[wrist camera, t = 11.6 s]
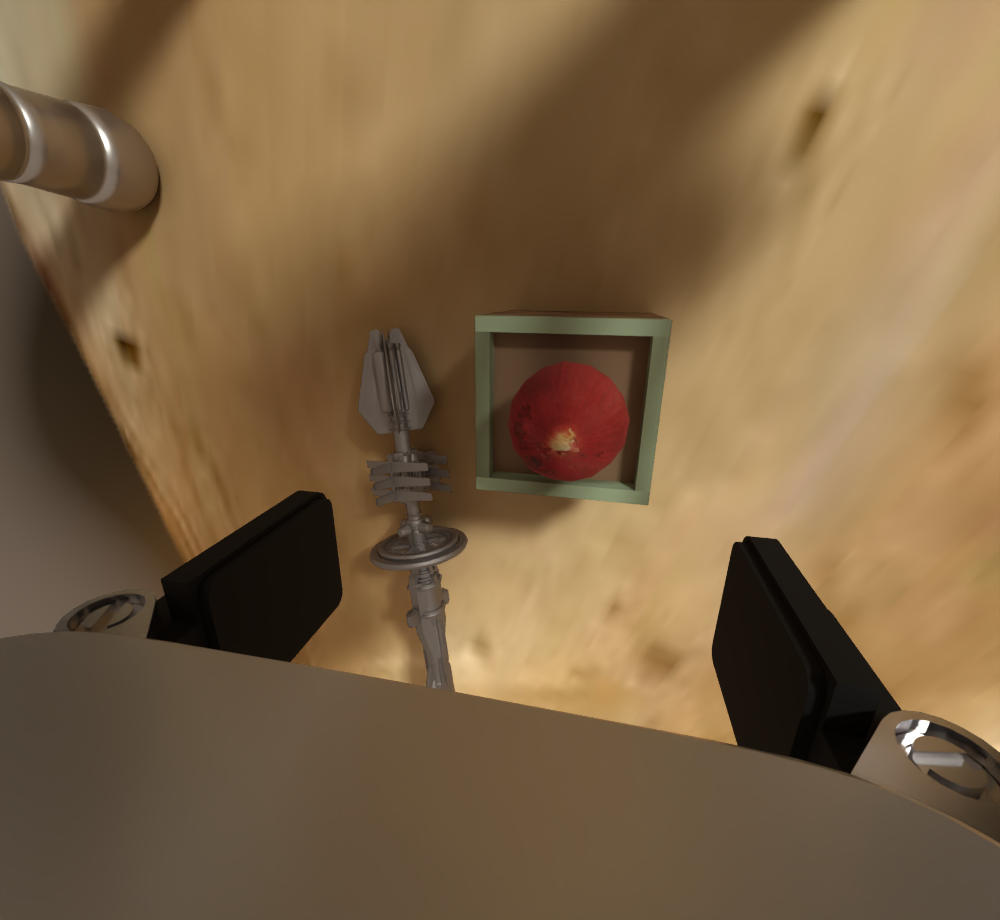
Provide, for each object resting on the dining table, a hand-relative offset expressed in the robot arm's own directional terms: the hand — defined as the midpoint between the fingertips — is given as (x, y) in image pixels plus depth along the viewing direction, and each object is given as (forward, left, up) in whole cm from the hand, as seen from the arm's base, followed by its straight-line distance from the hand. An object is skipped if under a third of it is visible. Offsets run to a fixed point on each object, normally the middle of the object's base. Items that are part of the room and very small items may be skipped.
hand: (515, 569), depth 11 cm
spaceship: (+12, +14, -26) cm, 32 cm away
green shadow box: (0, 0, -26) cm, 26 cm away
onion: (0, 0, -17) cm, 17 cm away
